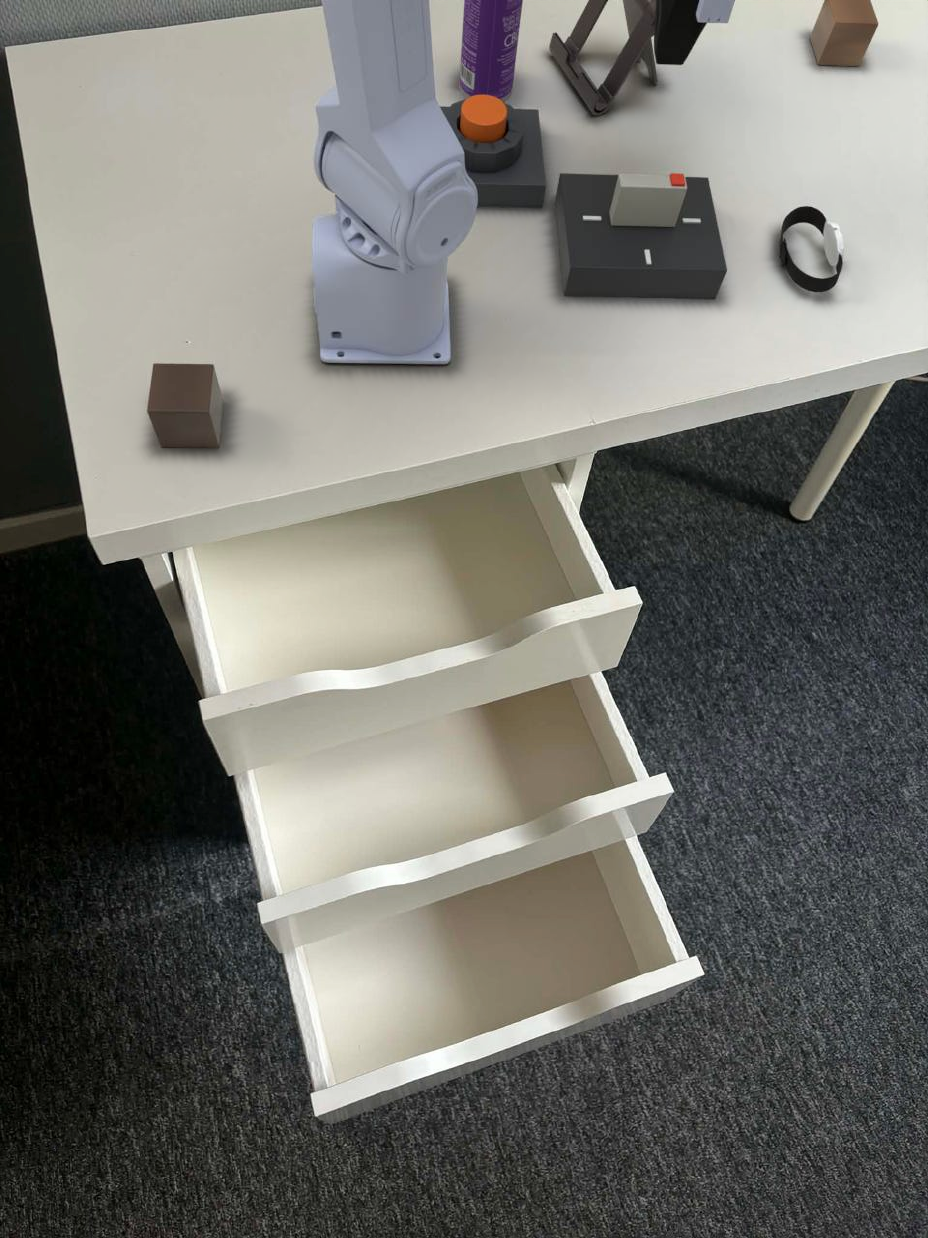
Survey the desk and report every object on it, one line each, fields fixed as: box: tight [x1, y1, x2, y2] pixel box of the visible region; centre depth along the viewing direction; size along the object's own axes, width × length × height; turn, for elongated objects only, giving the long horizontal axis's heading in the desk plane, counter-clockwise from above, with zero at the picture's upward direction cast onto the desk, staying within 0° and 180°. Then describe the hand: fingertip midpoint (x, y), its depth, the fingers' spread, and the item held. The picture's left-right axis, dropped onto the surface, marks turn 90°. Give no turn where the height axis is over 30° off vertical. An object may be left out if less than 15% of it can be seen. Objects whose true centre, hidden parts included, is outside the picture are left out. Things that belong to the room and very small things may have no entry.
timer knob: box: [609, 172, 687, 227], centre depth 71 cm, size 5×1×4 cm, turn 92°
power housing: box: [439, 98, 547, 209], centre depth 77 cm, size 10×9×4 cm
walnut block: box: [146, 362, 224, 449], centre depth 64 cm, size 4×4×4 cm
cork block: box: [809, 0, 879, 67], centre depth 87 cm, size 4×4×4 cm
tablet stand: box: [548, 0, 659, 117], centre depth 81 cm, size 9×8×8 cm
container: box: [458, 0, 524, 103], centre depth 76 cm, size 5×5×15 cm
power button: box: [460, 95, 507, 143], centre depth 75 cm, size 4×4×2 cm
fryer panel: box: [554, 172, 728, 300], centre depth 74 cm, size 12×10×3 cm
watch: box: [778, 205, 845, 293], centre depth 75 cm, size 8×5×4 cm, turn 8°
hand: (668, 58), depth 70 cm, fingers closed
